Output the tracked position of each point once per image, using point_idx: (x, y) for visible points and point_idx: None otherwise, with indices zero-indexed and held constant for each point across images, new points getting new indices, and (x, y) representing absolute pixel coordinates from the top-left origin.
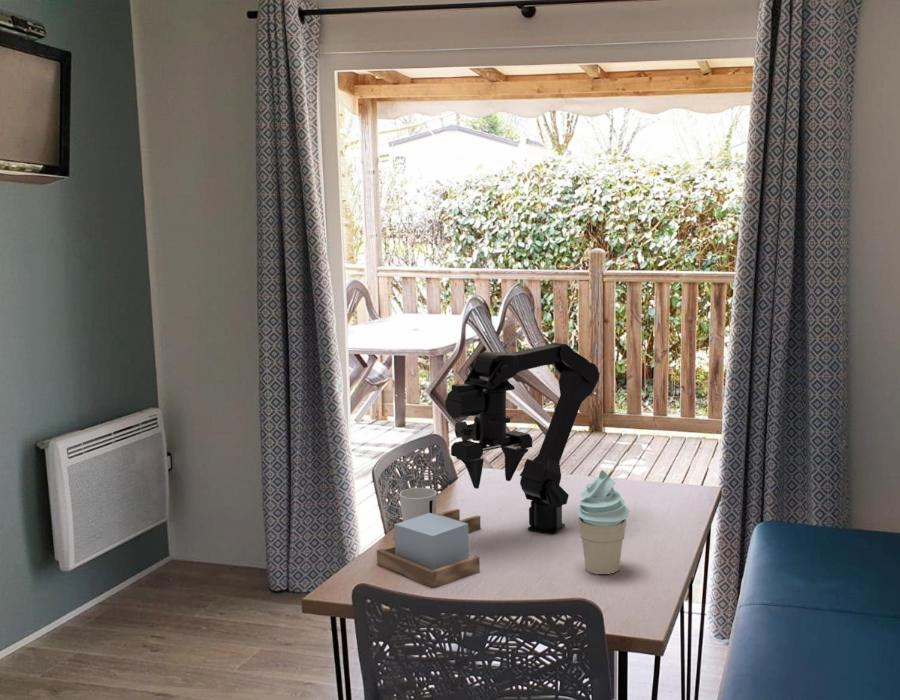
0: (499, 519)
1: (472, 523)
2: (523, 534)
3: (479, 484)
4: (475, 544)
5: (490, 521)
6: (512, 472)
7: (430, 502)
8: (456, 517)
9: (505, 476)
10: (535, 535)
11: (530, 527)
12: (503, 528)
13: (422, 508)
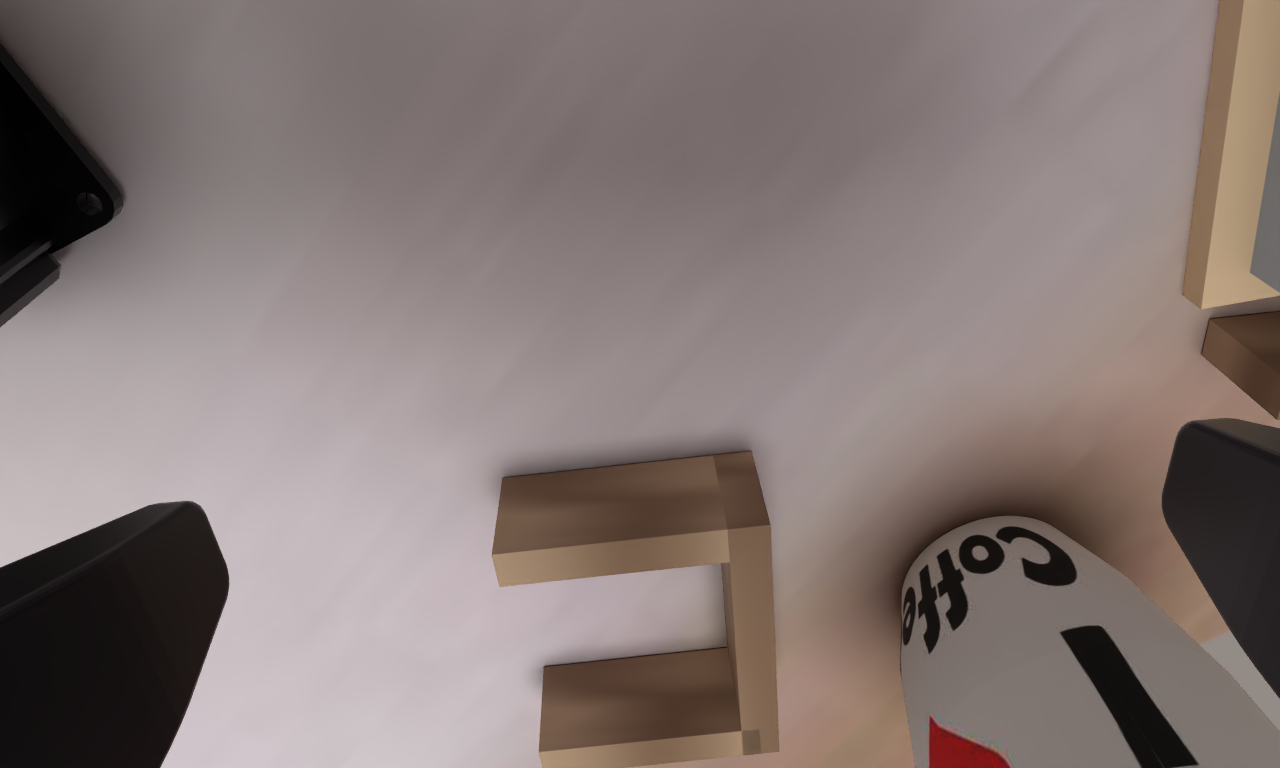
0: (230, 567)
1: (593, 513)
2: (223, 146)
3: (1263, 444)
4: (788, 203)
5: (324, 569)
6: (10, 595)
7: (1169, 747)
8: (575, 698)
9: (206, 654)
10: (116, 39)
11: (80, 213)
12: (315, 388)
13: (1232, 710)
